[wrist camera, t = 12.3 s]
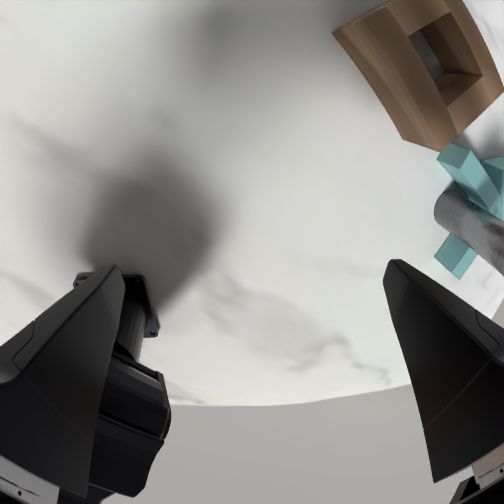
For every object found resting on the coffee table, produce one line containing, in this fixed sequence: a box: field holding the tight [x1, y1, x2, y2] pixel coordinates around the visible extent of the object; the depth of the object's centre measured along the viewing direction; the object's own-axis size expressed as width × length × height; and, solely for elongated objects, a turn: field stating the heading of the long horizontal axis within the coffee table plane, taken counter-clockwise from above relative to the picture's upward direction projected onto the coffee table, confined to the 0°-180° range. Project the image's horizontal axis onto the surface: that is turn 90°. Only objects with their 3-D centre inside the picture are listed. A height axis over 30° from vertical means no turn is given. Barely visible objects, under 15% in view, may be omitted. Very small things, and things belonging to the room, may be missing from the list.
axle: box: [434, 190, 504, 276], centre depth 17 cm, size 4×4×13 cm
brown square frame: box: [332, 0, 504, 152], centre depth 14 cm, size 10×10×4 cm
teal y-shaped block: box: [434, 143, 504, 280], centre depth 21 cm, size 10×13×3 cm
